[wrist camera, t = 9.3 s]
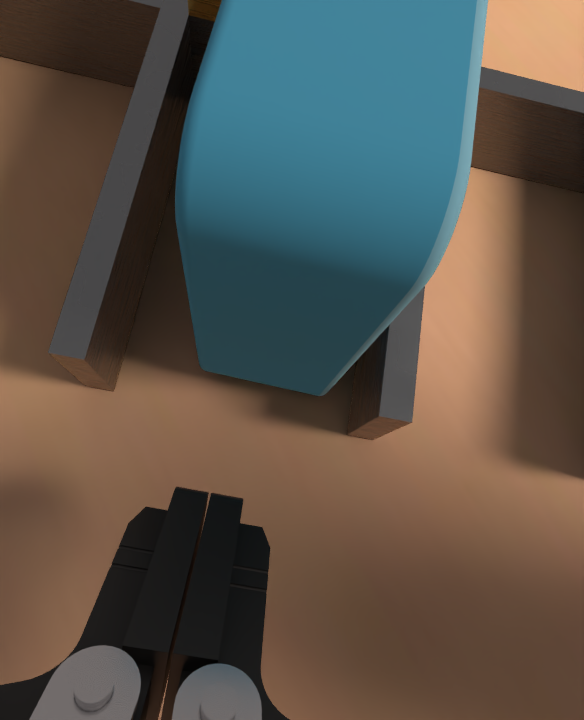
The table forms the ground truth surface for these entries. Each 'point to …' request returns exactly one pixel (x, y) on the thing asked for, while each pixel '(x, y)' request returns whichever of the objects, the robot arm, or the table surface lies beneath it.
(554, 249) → the table surface
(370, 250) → the data package
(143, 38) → the sorting rack
